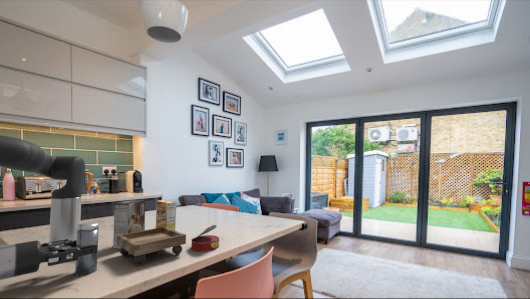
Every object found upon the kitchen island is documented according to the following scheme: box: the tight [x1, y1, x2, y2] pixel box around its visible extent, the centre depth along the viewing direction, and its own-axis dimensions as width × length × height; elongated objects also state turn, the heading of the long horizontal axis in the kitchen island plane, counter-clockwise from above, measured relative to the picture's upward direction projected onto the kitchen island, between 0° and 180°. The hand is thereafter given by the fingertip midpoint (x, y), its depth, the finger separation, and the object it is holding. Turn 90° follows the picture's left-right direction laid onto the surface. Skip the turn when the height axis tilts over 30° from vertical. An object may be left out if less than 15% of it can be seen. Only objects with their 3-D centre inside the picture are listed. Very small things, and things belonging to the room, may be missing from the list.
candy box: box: [155, 199, 177, 231], centre depth 101 cm, size 9×4×15 cm, turn 50°
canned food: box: [190, 224, 220, 252], centre depth 92 cm, size 11×10×10 cm
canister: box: [74, 221, 100, 277], centre depth 71 cm, size 5×5×13 cm
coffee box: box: [112, 199, 146, 249], centre depth 95 cm, size 9×6×16 cm
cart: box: [117, 227, 187, 266], centre depth 84 cm, size 16×16×6 cm
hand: (92, 244), depth 72 cm, fingers open, 8 cm apart
